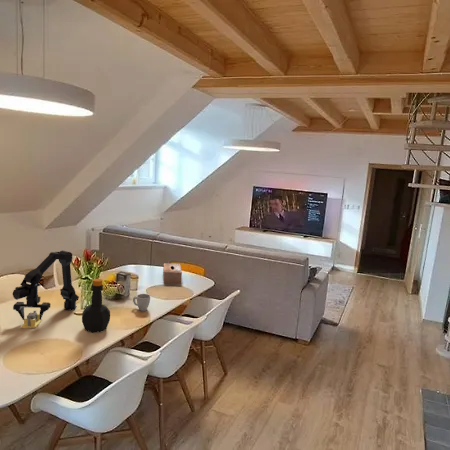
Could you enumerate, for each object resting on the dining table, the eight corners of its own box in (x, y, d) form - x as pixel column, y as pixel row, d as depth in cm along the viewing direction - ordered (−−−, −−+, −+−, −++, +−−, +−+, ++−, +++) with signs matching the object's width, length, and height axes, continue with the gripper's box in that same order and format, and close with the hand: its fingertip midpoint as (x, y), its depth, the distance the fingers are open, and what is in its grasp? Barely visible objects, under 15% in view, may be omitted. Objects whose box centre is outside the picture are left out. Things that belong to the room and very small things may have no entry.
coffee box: (114, 294, 282) (115, 273, 280) (119, 291, 288) (120, 271, 286) (125, 296, 280) (126, 275, 277) (130, 293, 286) (131, 273, 283)
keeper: (42, 320, 230) (42, 310, 229) (36, 327, 219) (36, 318, 218) (27, 319, 228) (27, 310, 228) (21, 327, 218) (21, 317, 217)
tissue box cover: (181, 284, 319) (181, 272, 317) (163, 283, 316) (164, 271, 315) (179, 274, 344) (180, 264, 342) (163, 274, 341) (163, 263, 340)
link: (37, 320, 227) (37, 312, 226) (34, 324, 222) (34, 316, 221) (29, 320, 226) (29, 312, 225) (26, 324, 221) (26, 316, 220)
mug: (151, 308, 262) (152, 295, 260) (145, 312, 254) (146, 299, 252) (135, 305, 265) (136, 292, 263) (129, 309, 256) (130, 296, 255)
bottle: (87, 321, 233) (88, 274, 228) (114, 324, 233) (116, 277, 228) (76, 333, 217) (77, 282, 212) (105, 335, 217) (107, 285, 212)
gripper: (53, 290, 230) (52, 314, 233) (20, 289, 227) (20, 313, 230) (47, 296, 220) (47, 322, 222) (12, 295, 216) (12, 321, 219)
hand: (32, 319), depth 224 cm, fingers open, 9 cm apart
